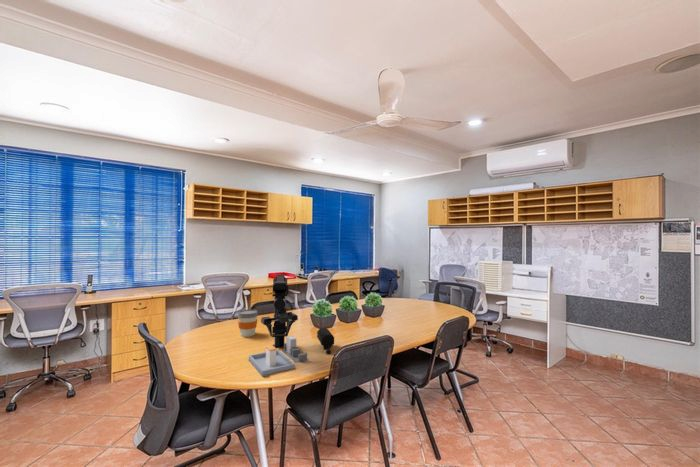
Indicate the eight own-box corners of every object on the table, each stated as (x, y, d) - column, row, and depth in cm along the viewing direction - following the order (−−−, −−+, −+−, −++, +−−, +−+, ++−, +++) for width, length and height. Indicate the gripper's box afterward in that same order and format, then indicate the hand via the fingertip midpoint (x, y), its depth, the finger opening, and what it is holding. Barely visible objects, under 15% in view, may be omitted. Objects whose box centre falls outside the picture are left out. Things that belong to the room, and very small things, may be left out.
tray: (248, 360, 169) (248, 355, 169) (278, 354, 177) (278, 349, 177) (262, 376, 149) (262, 371, 149) (294, 369, 158) (294, 364, 158)
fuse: (286, 350, 181) (286, 336, 181) (291, 349, 183) (292, 335, 183) (290, 354, 176) (290, 339, 176) (296, 353, 178) (296, 338, 178)
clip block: (281, 351, 182) (281, 344, 182) (294, 348, 186) (294, 341, 186) (295, 364, 164) (295, 356, 164) (310, 361, 168) (310, 353, 168)
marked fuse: (265, 362, 165) (265, 346, 165) (272, 360, 167) (272, 345, 167) (269, 366, 160) (269, 349, 160) (276, 364, 162) (276, 348, 162)
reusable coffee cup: (260, 332, 217) (260, 309, 217) (253, 338, 204) (253, 314, 204) (242, 331, 218) (242, 309, 218) (234, 337, 206) (234, 313, 206)
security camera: (323, 355, 176) (323, 337, 176) (316, 344, 194) (317, 327, 194) (335, 354, 178) (335, 336, 178) (328, 343, 196) (328, 327, 196)
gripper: (267, 310, 161) (267, 342, 161) (302, 306, 171) (301, 336, 171) (260, 306, 171) (260, 336, 170) (293, 302, 181) (293, 330, 181)
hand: (279, 334), depth 173 cm, fingers open, 9 cm apart
